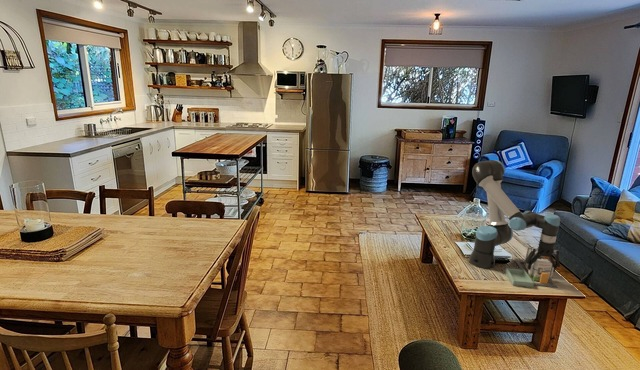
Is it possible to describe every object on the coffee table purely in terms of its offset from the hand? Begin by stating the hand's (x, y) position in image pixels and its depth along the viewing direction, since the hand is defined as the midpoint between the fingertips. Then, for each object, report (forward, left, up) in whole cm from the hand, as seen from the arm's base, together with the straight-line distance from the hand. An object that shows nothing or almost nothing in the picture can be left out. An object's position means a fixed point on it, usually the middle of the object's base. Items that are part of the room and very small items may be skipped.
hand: (539, 275), depth 213 cm
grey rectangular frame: (0, +6, -2) cm, 6 cm away
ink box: (0, 0, -3) cm, 3 cm away
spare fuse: (0, +12, -2) cm, 12 cm away
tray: (-13, -4, -2) cm, 13 cm away
